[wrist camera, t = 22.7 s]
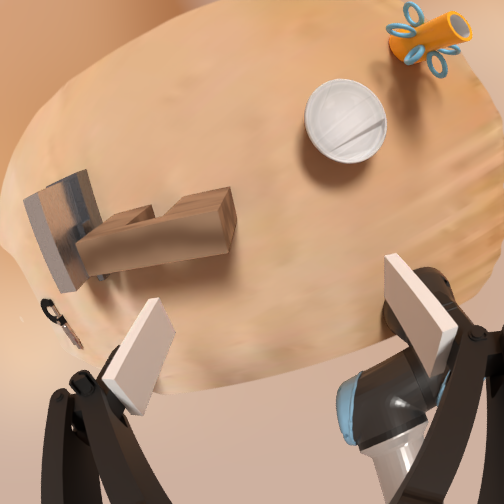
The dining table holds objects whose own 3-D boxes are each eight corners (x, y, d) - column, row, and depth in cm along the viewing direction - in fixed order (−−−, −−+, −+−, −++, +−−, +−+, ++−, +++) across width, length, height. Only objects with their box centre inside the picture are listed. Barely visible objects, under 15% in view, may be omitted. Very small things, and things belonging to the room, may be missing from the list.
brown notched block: (237, 218, 42) (228, 253, 31) (123, 241, 44) (89, 276, 33) (229, 186, 39) (217, 210, 29) (114, 214, 42) (75, 243, 31)
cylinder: (412, 94, 32) (473, 88, 18) (361, 49, 29) (407, 18, 16) (441, 49, 27) (498, 36, 13) (394, 7, 25) (441, -26, 11)
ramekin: (354, 171, 38) (367, 178, 33) (286, 138, 36) (290, 140, 32) (383, 108, 33) (399, 107, 28) (317, 71, 32) (325, 64, 27)
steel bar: (99, 266, 43) (76, 291, 35) (84, 269, 43) (60, 293, 36) (68, 179, 36) (37, 192, 29) (53, 186, 36) (22, 200, 29)
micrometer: (37, 299, 52) (32, 305, 50) (52, 295, 51) (46, 301, 48) (68, 345, 58) (64, 352, 55) (84, 344, 57) (80, 351, 54)
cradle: (118, 264, 46) (104, 280, 41) (87, 270, 47) (73, 285, 42) (86, 169, 38) (67, 175, 33) (55, 182, 39) (37, 190, 34)
